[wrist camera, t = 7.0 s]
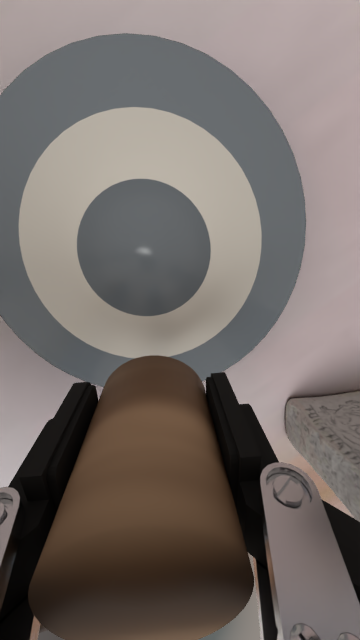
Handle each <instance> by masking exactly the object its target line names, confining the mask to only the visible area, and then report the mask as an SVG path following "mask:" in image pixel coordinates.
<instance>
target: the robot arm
mask: <svg viewBox="0 0 360 640" xmlns="http://www.w3.org/2000/svg"><path fill="white" fill-rule="evenodd" d="M206 396H207V400H208V404H209V408H210V412H211V415H212V419H213V423H214V427H215V431H216V434H217V438H218V442H219V446H220V450H221V454H222V457H223V461H224V465H225V469H226V473H227V476H228V480H229V484H230V488H231V492H232V495H233V499H234V503H235V507H236V511H237V514H238V518H239V522H240V526H241V530H242V533H243V537H244V541H245V545H246V549H247V552H248V553H250V554H251V555H252V556H253V562H254V572H255V582H256V593H257V604H258V615H259V625H260V635H261V640H360V522H359V521H357V520H355V519H354V518H352V517H350V516H349V515H347V514H345V513H344V512H342V511H340V510H339V509H337V508H335V507H333V506H332V505H330V504H328V503H327V502H325V501H323V500H322V499H321V497H320V494H319V492H318V489H317V487H316V485H315V483H314V482H313V480H312V479H311V478H310V477H309V476H308V475H307V474H306V473H305V472H303V471H302V470H301V469H299V468H297V467H295V466H293V465H291V464H287V463H283V462H279V461H278V459H277V457H276V455H275V453H274V451H273V449H272V447H271V445H270V443H269V441H268V439H267V437H266V435H265V433H264V431H263V429H262V427H261V425H260V423H259V421H258V419H257V417H256V415H255V413H254V411H253V409H252V407H251V406H250V405H249V404H239V403H238V401H237V399H236V396H235V394H234V392H233V390H232V387H231V385H230V383H229V380H228V378H227V376H226V374H225V372H221V373H211V377H206ZM97 404H98V397H97V391H96V387H95V386H94V385H91V384H90V382H82V383H74V384H73V386H72V387H71V389H70V391H69V392H68V394H67V396H66V398H65V399H64V401H63V403H62V404H61V406H60V408H59V410H58V411H57V413H56V415H55V416H54V418H53V419H51V420H49V421H48V422H47V423H46V425H45V427H44V428H43V430H42V432H41V433H40V435H39V437H38V438H37V440H36V442H35V443H34V445H33V447H32V448H31V450H30V451H29V453H28V455H27V456H26V458H25V460H24V461H23V463H22V465H21V466H20V468H19V470H18V471H17V473H16V475H15V476H14V478H13V480H12V481H11V483H10V485H9V486H8V487H2V488H0V640H37V639H38V634H39V628H40V622H39V621H38V620H37V619H36V617H35V616H34V614H33V612H32V611H31V608H30V605H29V600H28V591H29V585H30V582H31V580H32V577H33V574H34V572H35V569H36V566H37V564H38V561H39V558H40V556H41V553H42V550H43V548H44V545H45V542H46V540H47V537H48V534H49V532H50V529H51V526H52V524H53V521H54V518H55V516H56V513H57V510H58V508H59V505H60V502H61V500H62V497H63V494H64V492H65V489H66V486H67V484H68V481H69V478H70V476H71V473H72V470H73V468H74V465H75V463H76V460H77V457H78V455H79V452H80V449H81V447H82V444H83V441H84V439H85V436H86V433H87V431H88V428H89V425H90V423H91V420H92V417H93V415H94V412H95V409H96V407H97Z"/></svg>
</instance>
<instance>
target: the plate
mask: <svg viewBox="0 0 360 640" xmlns="http://www.w3.org/2000/svg"><path fill="white" fill-rule="evenodd" d="M305 231H306V214H305V199H304V194H303V188H302V182H301V177H300V174H299V171H298V167H297V164H296V161H295V158H294V155H293V152H292V150H291V148H290V146H289V143H288V141H287V139H286V137H285V135H284V133H283V130H282V129H281V127H280V126H279V124H278V123H277V121H276V119H275V118H274V116H273V115H272V113H271V111H270V110H269V108H268V107H267V106H266V105H265V104H264V102H263V101H262V100H261V99H260V98H259V97H258V95H257V94H256V93H255V92H254V91H253V89H252V88H251V87H250V86H249V85H247V84H246V83H245V82H244V81H243V80H242V79H241V78H239V77H238V76H237V75H236V74H235V73H234V72H233V71H232V70H230V69H229V68H227V67H226V66H224V65H223V64H221V63H220V62H218V61H217V60H215V59H213V58H212V57H210V56H209V55H207V54H205V53H203V52H201V51H198V50H196V49H194V48H192V47H189V46H187V45H185V44H183V43H179V42H176V41H172V40H168V39H164V38H160V37H157V36H149V35H138V34H127V33H126V34H114V35H102V36H96V37H92V38H88V39H85V40H81V41H77V42H73V43H70V44H68V45H66V46H64V47H62V48H60V49H58V50H55V51H53V52H51V53H49V54H47V55H45V56H44V57H42V58H41V59H40V60H38V61H37V62H35V63H34V64H33V65H31V66H30V67H28V68H27V69H25V70H24V71H23V72H22V73H21V74H20V75H19V76H18V77H17V78H16V79H15V80H14V81H13V82H12V83H11V84H10V85H9V86H8V87H7V88H6V89H5V90H4V91H3V93H2V94H1V95H0V315H1V317H2V318H3V319H4V321H5V322H6V323H7V325H8V326H9V327H10V328H11V329H12V330H13V331H14V333H15V334H16V335H17V336H18V337H19V338H20V339H21V340H22V341H23V342H24V343H25V344H26V345H27V346H29V347H30V348H31V349H32V350H33V351H34V352H35V353H37V354H38V355H39V356H41V357H42V358H44V359H45V360H46V361H48V362H49V363H50V364H52V365H54V366H55V367H57V368H59V369H61V370H62V371H64V372H66V373H68V374H70V375H72V376H74V377H77V378H79V379H81V380H84V381H86V382H90V383H92V384H95V385H99V386H102V387H104V386H105V383H106V381H107V379H108V378H109V376H110V375H111V374H112V373H113V372H114V371H115V370H116V369H117V368H118V367H119V366H121V365H122V364H124V363H126V362H128V361H130V360H132V359H135V358H138V357H142V356H150V355H159V356H166V357H171V358H174V359H177V360H179V361H181V362H183V363H185V364H186V365H188V366H189V367H191V368H192V369H193V370H194V371H195V372H196V373H197V375H198V376H199V377H200V379H201V381H204V380H206V377H211V373H221V372H223V371H224V370H226V369H227V368H229V367H230V366H232V365H233V364H235V363H236V362H238V361H239V360H241V359H242V358H243V357H244V356H245V355H247V354H248V353H249V352H250V351H251V350H253V348H254V347H255V346H256V345H257V344H258V343H259V342H260V341H261V340H262V339H263V338H264V337H265V336H266V335H267V333H268V332H269V331H270V329H271V328H272V327H273V325H274V324H275V323H276V321H277V320H278V318H279V316H280V315H281V313H282V311H283V310H284V308H285V306H286V304H287V302H288V300H289V298H290V295H291V293H292V291H293V289H294V286H295V283H296V280H297V277H298V274H299V270H300V267H301V262H302V257H303V251H304V246H305Z"/></svg>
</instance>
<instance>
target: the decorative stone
mask: <svg viewBox="0 0 360 640" xmlns="http://www.w3.org/2000/svg"><path fill="white" fill-rule="evenodd" d="M285 423H286V432H287V435H288V439H289V440H290V441H291V443H292V445H293V446H294V448H295V449H296V450H297V451H298V452H299V453H300V454H301V455H302V456H303V458H304V459H305V460H306V461H307V462H308V463H309V464H310V465H311V466H312V467H313V469H314V470H315V471H316V473H317V474H318V475H319V476H320V477H321V478H322V479H323V480H324V481H325V482H326V483H327V484H328V486H329V487H330V488H331V489H332V490H333V491H334V493H335V494H336V496H337V497H338V498H339V499H340V500H341V501H342V503H343V504H344V505H345V506H346V507H347V509H348V510H349V512H350V513H351V514H352V515H353V516H354V518H355V519H356V520H357V521H359V522H360V391H354V392H347V393H343V394H336V395H330V396H322V397H310V398H294V399H290V400H289V401H288V402H287V405H286V419H285Z"/></svg>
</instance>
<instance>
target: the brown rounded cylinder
mask: <svg viewBox="0 0 360 640" xmlns="http://www.w3.org/2000/svg"><path fill="white" fill-rule="evenodd" d="M253 587H254V576H253V572H252V568H251V564H250V560H249V557H248V552H247V549H246V545H245V541H244V537H243V533H242V530H241V526H240V522H239V518H238V514H237V511H236V507H235V503H234V499H233V495H232V492H231V488H230V484H229V480H228V476H227V473H226V469H225V465H224V461H223V457H222V454H221V450H220V446H219V442H218V438H217V434H216V431H215V427H214V423H213V419H212V415H211V412H210V408H209V404H208V400H207V396H206V393H205V389H204V385H203V383H202V381H201V379H200V377H199V376H198V375H197V373H196V372H195V371H194V370H193V369H192V368H191V367H189V366H188V365H186V364H185V363H183V362H181V361H179V360H177V359H174V358H171V357H166V356H159V355H150V356H142V357H138V358H135V359H132V360H130V361H128V362H126V363H124V364H122V365H121V366H119V367H118V368H117V369H116V370H115V371H114V372H113V373H112V374H111V375H110V376H109V378H108V379H107V381H106V383H105V386H104V388H103V391H102V393H101V396H100V399H99V401H98V404H97V407H96V409H95V412H94V415H93V417H92V420H91V423H90V425H89V428H88V431H87V433H86V436H85V439H84V441H83V444H82V447H81V449H80V452H79V455H78V457H77V460H76V463H75V465H74V468H73V470H72V473H71V476H70V478H69V481H68V484H67V486H66V489H65V492H64V494H63V497H62V500H61V502H60V505H59V508H58V510H57V513H56V516H55V518H54V521H53V524H52V526H51V529H50V532H49V534H48V537H47V540H46V542H45V545H44V548H43V550H42V553H41V556H40V558H39V561H38V564H37V566H36V569H35V572H34V574H33V577H32V580H31V582H30V585H29V591H28V600H29V605H30V608H31V611H32V612H33V614H34V616H35V617H36V619H37V620H38V621H39V622H40V623H41V624H42V625H43V626H44V627H45V628H46V629H48V630H49V631H50V632H52V633H54V634H55V635H57V636H58V637H61V638H63V639H65V640H198V639H200V638H203V637H205V636H207V635H209V634H211V633H213V632H215V631H217V630H219V629H220V628H222V627H223V626H225V625H226V624H228V623H229V622H230V621H232V620H233V619H234V618H235V617H236V616H237V615H238V614H239V613H240V612H241V611H242V610H243V609H244V607H245V606H246V604H247V603H248V601H249V599H250V597H251V595H252V592H253Z"/></svg>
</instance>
